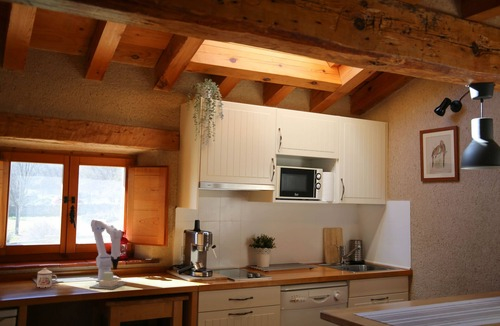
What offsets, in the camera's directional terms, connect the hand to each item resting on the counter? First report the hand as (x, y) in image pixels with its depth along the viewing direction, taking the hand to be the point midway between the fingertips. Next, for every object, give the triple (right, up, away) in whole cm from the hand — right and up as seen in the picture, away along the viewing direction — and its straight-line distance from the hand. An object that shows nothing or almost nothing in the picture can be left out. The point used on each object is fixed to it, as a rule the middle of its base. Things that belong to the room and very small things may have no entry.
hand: (115, 268), depth 334 cm
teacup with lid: (-40, -9, -15) cm, 44 cm away
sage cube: (-3, -6, -8) cm, 10 cm away
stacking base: (-2, -10, -8) cm, 13 cm away
